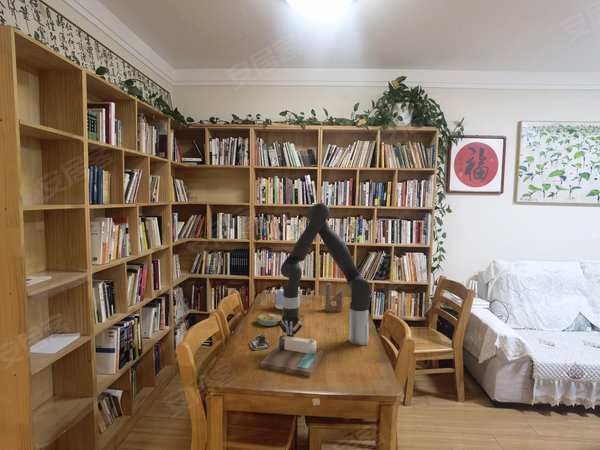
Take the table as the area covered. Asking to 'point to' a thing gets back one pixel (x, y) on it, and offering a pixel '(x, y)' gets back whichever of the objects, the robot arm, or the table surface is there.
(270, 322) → the cell model
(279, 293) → the retro all-in-one computer
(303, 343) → the white rectangular block
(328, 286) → the brown notched block
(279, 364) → the board
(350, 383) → the table surface
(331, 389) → the table surface
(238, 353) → the table surface
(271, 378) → the table surface
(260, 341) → the dark grey gadget
